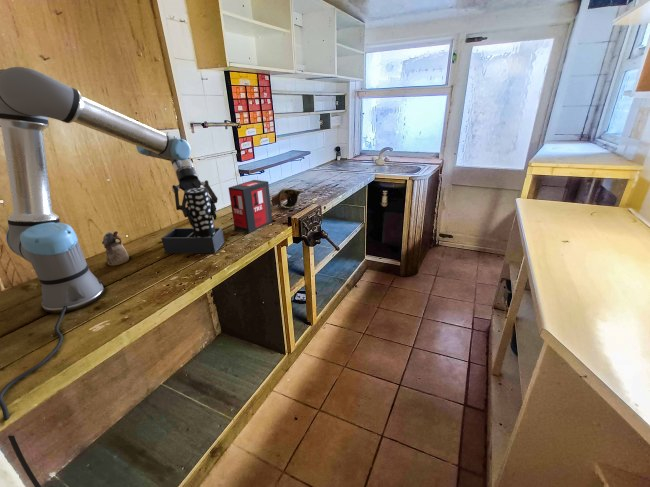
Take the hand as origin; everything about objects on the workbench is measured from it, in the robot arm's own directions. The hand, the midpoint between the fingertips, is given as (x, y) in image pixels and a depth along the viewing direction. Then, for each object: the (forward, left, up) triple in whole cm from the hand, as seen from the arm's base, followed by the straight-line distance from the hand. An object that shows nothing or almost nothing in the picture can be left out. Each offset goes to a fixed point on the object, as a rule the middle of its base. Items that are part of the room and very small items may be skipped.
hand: (203, 220), depth 121 cm
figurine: (-9, +32, -13) cm, 36 cm away
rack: (+3, +7, -13) cm, 15 cm away
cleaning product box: (+28, -11, -13) cm, 32 cm away
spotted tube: (+3, +2, -9) cm, 9 cm away
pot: (+58, -22, -13) cm, 63 cm away
